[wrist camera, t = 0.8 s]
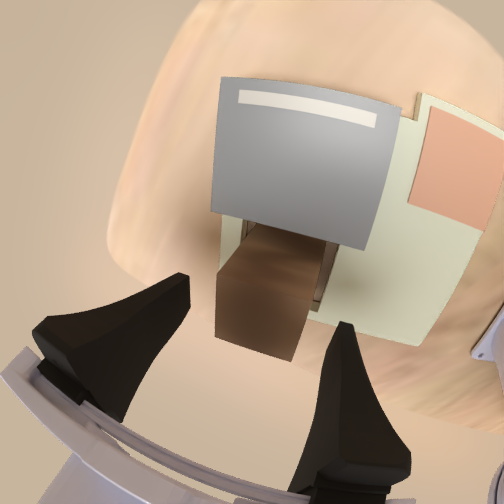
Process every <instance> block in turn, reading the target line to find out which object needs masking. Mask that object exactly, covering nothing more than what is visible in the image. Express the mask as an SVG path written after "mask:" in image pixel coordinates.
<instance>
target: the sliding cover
mask: <svg viewBox="0 0 504 504" xmlns="http://www.w3.org/2000/svg"><path fill="white" fill-rule="evenodd" d="M401 110H402V108H400V107H397V106H394V105H391V104H387V103H384V102H381V101H377V100H374V99H370V98H366V97H362V96H358V95H354V94H350V93H346V92H341V91H337V90H332V89H327V88H322V87H316V86H310V85H304V84H298V83H291V82H283V81H275V80H265V79H254V78H239V77H221V83H220V92H219V103H218V113H217V125H216V137H215V150H214V164H213V180H212V197H211V212H215V213H219V214H224V215H228V216H232V217H236V218H240V219H244V220H248V221H252V222H256V223H260V224H264V225H268V226H272V227H276V228H280V229H284V230H288V231H292V232H295V233H299V234H303V235H307V236H311V237H314V238H318V239H322V240H325V241H329V242H333V243H336V244H340V245H344V246H347V247H351V248H354V249H358V250H362V251H364V250H365V248H366V245H367V242H368V239H369V236H370V233H371V230H372V226H373V223H374V220H375V217H376V214H377V210H378V207H379V203H380V200H381V197H382V193H383V189H384V186H385V182H386V178H387V174H388V170H389V166H390V162H391V158H392V154H393V150H394V145H395V141H396V136H397V131H398V126H399V121H400V116H401Z"/></svg>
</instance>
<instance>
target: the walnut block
mask: <svg viewBox="0 0 504 504" xmlns="http://www.w3.org/2000/svg"><path fill="white" fill-rule="evenodd" d="M325 245H326V241H325V240H322V239H318V238H314V237H311V236H307V235H303V234H299V233H295V232H292V231H288V230H284V229H280V228H276V227H272V226H268V225H264V224H260V223H257V224H256V225H255V226H254V228H253V229H252V230H251V231H250V233H249V234H248V235H247V236H246V238H245V239H244V240H243V241H242V243H241V244H240V245H239V246H238V248H237V249H236V250H235V252H234V253H233V254H232V255H231V257H230V258H229V259H228V260H227V262H226V263H225V264H224V265H223V267H222V268H221V269H220V270H219V272H218V273H217V281H216V308H215V337H216V338H219V339H222V340H225V341H228V342H231V343H233V344H236V345H239V346H242V347H245V348H248V349H251V350H254V351H257V352H260V353H263V354H266V355H269V356H273V357H276V358H279V359H282V360H286V361H289V362H291V361H292V358H293V356H294V353H295V350H296V347H297V345H298V342H299V339H300V336H301V333H302V331H303V328H304V325H305V322H306V319H307V316H308V313H309V310H310V307H311V304H312V300H313V296H314V292H315V288H316V284H317V280H318V276H319V272H320V267H321V263H322V259H323V254H324V250H325Z"/></svg>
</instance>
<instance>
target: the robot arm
mask: <svg viewBox="0 0 504 504" xmlns="http://www.w3.org/2000/svg"><path fill="white" fill-rule="evenodd" d="M190 307H191V304H190V277H189V276H188V275H185V274H182V273H179V272H178V273H176V274H174V275H172V276H170V277H168V278H166V279H164V280H162V281H160V282H158V283H157V284H155V285H153V286H151V287H149V288H147V289H145V290H143V291H141V292H138V293H136V294H134V295H132V296H130V297H127V298H125V299H123V300H120V301H118V302H115V303H112V304H110V305H106V306H103V307H100V308H96V309H92V310H88V311H84V312H79V313H74V314H66V315H55V316H47V317H46V318H45V319H44V320H43V321H42V322H41V323H40V324H38V325H37V326H36V327H35V328H34V329H33V330H32V336H33V338H34V340H35V342H36V344H37V345H38V347H39V349H40V350H41V352H42V354H43V355H44V357H45V358H44V359H43V360H42V361H41V360H40V358H39V357H38V356H37V355H36V354H35V353H34V352H33V351H32V350H31V349H30V348H29V347H27V346H26V347H25V348H24V349H23V350H22V351H21V352H20V353H19V354H18V355H17V356H16V357H15V358H14V359H13V360H12V361H11V363H10V364H9V365H8V366H7V367H6V368H5V369H4V370H3V371H2V372H1V373H0V377H1V378H2V379H3V381H4V382H5V383H6V384H7V385H8V387H9V388H10V389H11V390H12V391H13V393H14V394H15V395H16V396H17V397H18V399H19V400H20V401H21V402H22V403H23V404H24V405H25V407H26V408H27V409H28V410H29V411H30V412H31V413H32V414H33V415H34V416H35V417H36V418H37V419H38V420H39V421H40V422H41V423H42V424H43V425H44V426H45V427H46V428H47V429H48V430H49V431H50V432H51V433H52V434H53V435H54V436H55V437H56V438H57V439H59V441H61V442H62V443H63V444H64V445H65V446H66V447H67V448H69V449H70V450H71V451H72V452H73V453H72V455H71V456H70V457H69V459H68V460H67V462H66V463H65V465H64V466H63V467H62V469H61V470H60V471H59V473H58V474H57V476H56V477H55V479H54V480H53V481H52V483H51V484H50V486H49V487H48V489H47V490H46V492H45V493H44V494H43V496H42V497H41V499H40V500H39V502H38V503H37V504H231V503H228V502H225V501H223V500H220V499H218V498H215V497H213V496H210V495H208V494H205V493H203V492H201V491H198V490H196V489H194V488H191V487H189V486H187V485H185V484H183V483H181V482H178V481H177V480H174V479H172V478H170V477H168V476H166V475H164V474H162V473H160V472H158V471H157V470H155V469H153V468H151V467H149V466H147V465H145V464H143V463H141V462H140V461H138V460H136V459H134V458H133V457H131V456H130V454H129V453H127V452H126V451H125V450H124V449H122V448H121V447H120V446H119V445H118V443H117V442H116V441H115V440H114V439H113V438H111V437H110V436H109V435H107V434H106V433H105V432H107V433H108V434H110V435H111V436H113V437H114V438H116V439H117V440H119V441H121V442H122V443H124V444H125V445H127V446H129V447H130V448H132V449H134V450H135V451H137V452H139V453H141V454H143V455H144V456H146V457H148V458H150V459H152V460H154V461H156V462H158V463H160V464H161V465H163V466H165V467H167V468H170V469H172V470H174V471H176V472H178V473H180V474H182V475H185V476H187V477H189V478H192V479H194V480H196V481H199V482H201V483H204V484H206V485H209V486H212V487H214V488H217V489H220V490H222V491H226V492H228V493H231V494H234V495H238V496H241V497H244V498H248V499H251V500H247V499H242V498H236V499H235V501H234V503H233V504H415V503H416V499H414V498H413V499H390V500H386V495H387V494H389V493H390V490H391V486H392V485H394V484H396V483H398V482H401V481H403V480H404V479H406V478H408V476H409V475H410V473H411V452H410V451H409V449H408V448H407V447H406V445H405V444H404V443H403V441H402V440H401V439H400V437H399V436H398V435H397V433H396V432H395V430H394V429H393V427H392V425H391V424H390V422H389V420H388V418H387V417H386V415H385V413H384V411H383V410H382V408H381V406H380V404H379V401H378V399H377V397H376V395H375V393H374V390H373V388H372V386H371V383H370V380H369V378H368V375H367V372H366V369H365V366H364V363H363V360H362V356H361V353H360V349H359V346H358V342H357V338H356V333H355V329H354V326H353V324H351V323H347V322H343V321H339V324H338V326H337V328H336V330H335V333H334V335H333V337H332V339H331V341H330V343H329V346H328V348H327V350H326V354H325V358H324V362H323V366H322V371H321V377H320V384H319V391H318V398H317V404H316V410H315V415H314V419H313V422H312V426H311V429H310V432H309V435H308V438H307V441H306V444H305V447H304V450H303V453H302V456H301V459H300V461H299V464H298V466H297V469H296V471H295V474H294V476H293V479H292V481H291V483H290V486H289V488H288V490H287V491H282V490H278V489H273V488H270V487H266V486H262V485H259V484H255V483H252V482H248V481H245V480H241V479H239V478H236V477H233V476H230V475H227V474H224V473H221V472H218V471H216V470H213V469H210V468H208V467H205V466H203V465H200V464H198V463H196V462H193V461H191V460H189V459H186V458H184V457H182V456H180V455H178V454H175V453H173V452H171V451H169V450H167V449H165V448H163V447H161V446H159V445H157V444H155V443H153V442H151V441H150V440H148V439H146V438H144V437H142V436H141V435H138V434H137V433H135V432H133V431H132V430H130V429H128V428H127V427H125V426H123V425H122V424H120V423H122V422H123V419H124V417H125V415H126V412H127V410H128V407H129V405H130V403H131V401H132V399H133V397H134V395H135V393H136V391H137V389H138V387H139V385H140V383H141V381H142V379H143V378H144V376H145V374H146V372H147V371H148V369H149V367H150V365H151V364H152V362H153V360H154V359H155V358H156V356H157V355H158V353H159V352H160V351H161V349H162V348H163V346H164V345H165V344H166V343H167V342H168V340H169V339H170V338H171V337H172V335H173V334H174V332H175V331H176V330H177V328H178V327H179V326H180V325H181V323H182V322H183V320H184V318H185V317H186V315H187V313H188V311H189V309H190ZM471 357H472V358H474V359H479V360H485V361H491V362H495V363H496V367H497V370H498V374H499V378H500V382H501V386H502V390H503V394H504V306H503V307H502V309H501V311H500V312H499V314H498V315H497V317H496V318H495V320H494V321H493V323H492V324H491V326H490V327H489V328H488V330H487V331H486V333H485V334H484V335H483V337H482V338H481V339H480V341H479V342H478V343H477V345H476V346H475V347H474V349H473V350H472V351H471ZM101 429H102V430H104V431H105V432H103V431H102V430H101ZM252 500H254V501H252ZM488 504H504V462H503V463H502V464H501V465H500V466H499V468H498V469H497V471H496V473H495V475H494V477H493V479H492V482H491V486H490V490H489V494H488Z"/></svg>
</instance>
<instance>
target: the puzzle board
mask: <svg viewBox="0 0 504 504" xmlns="http://www.w3.org/2000/svg"><path fill="white" fill-rule="evenodd" d="M503 176H504V131H502V130H501V129H499V128H497V127H495V126H494V125H492V124H490V123H488V122H486V121H485V120H483V119H481V118H479V117H477V116H475V115H473V114H471V113H469V112H467V111H465V110H463V109H461V108H458V107H456V106H454V105H452V104H449V103H447V102H445V101H442V100H440V99H438V98H435V97H433V96H430V95H427V94H425V93H419V94H418V95H417V101H416V107H415V112H414V118H413V120H411V119H408V118H405V117H402V116H400V121H399V126H398V131H397V136H396V141H395V145H394V150H393V154H392V158H391V162H390V166H389V170H388V174H387V178H386V182H385V186H384V189H383V193H382V197H381V200H380V203H379V207H378V210H377V214H376V217H375V220H374V223H373V226H372V230H371V233H370V236H369V239H368V242H367V245H366V248H365V250H364V251H362V250H358V249H354V248H351V247H347V246H344V245H340V244H339V245H338V248H337V251H336V255H335V258H334V261H333V265H332V268H331V271H330V274H329V277H328V280H327V283H326V286H325V289H324V292H323V295H322V298H321V301H320V303H319V302H315V301H312V304H311V307H310V310H309V313H308V316H307V319H310V320H314V321H317V322H321V323H324V324H328V325H332V326H336V327H337V326H338V324H339V321H343V322H347V323H351V324H353V326H354V329H355V332H359V333H362V334H366V335H370V336H375V337H379V338H383V339H387V340H391V341H395V342H400V343H404V344H409V345H413V346H418V347H419V345H420V344H421V343H422V341H423V340H424V338H425V337H426V335H427V334H428V332H429V331H430V329H431V328H432V326H433V325H434V323H435V322H436V320H437V319H438V317H439V315H440V314H441V312H442V310H443V309H444V307H445V305H446V304H447V302H448V300H449V299H450V297H451V295H452V293H453V292H454V290H455V288H456V286H457V284H458V282H459V280H460V279H461V277H462V275H463V273H464V271H465V269H466V267H467V265H468V263H469V261H470V259H471V256H472V254H473V252H474V250H475V248H476V245H477V243H478V241H479V239H480V236H481V234H482V231H483V232H484V231H485V229H486V226H487V224H488V221H489V219H490V216H491V213H492V210H493V208H494V205H495V202H496V199H497V196H498V193H499V190H500V186H501V183H502V180H503ZM247 223H248V220H244V219H240V218H236V217H232V216H228V215H224V214H222V224H221V241H220V259H219V270H220V269H221V268H222V267H223V265H224V264H225V263H226V262H227V260H228V259H229V258H230V257H231V255H232V254H233V253H234V252H235V250H236V249H237V248H238V246H239V245H240V244H241V243H242V241H243V240H244V239H245V238H246V232H247Z"/></svg>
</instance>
